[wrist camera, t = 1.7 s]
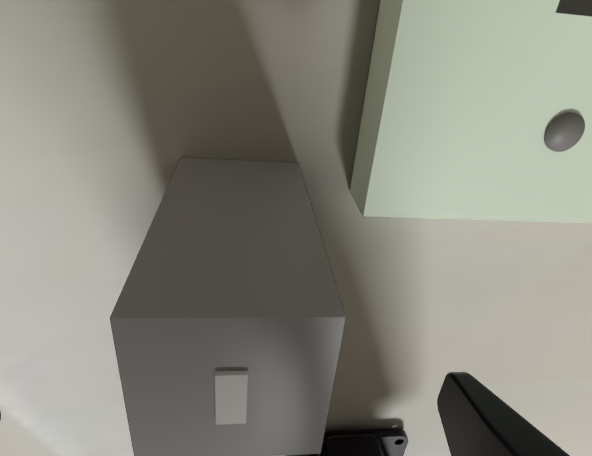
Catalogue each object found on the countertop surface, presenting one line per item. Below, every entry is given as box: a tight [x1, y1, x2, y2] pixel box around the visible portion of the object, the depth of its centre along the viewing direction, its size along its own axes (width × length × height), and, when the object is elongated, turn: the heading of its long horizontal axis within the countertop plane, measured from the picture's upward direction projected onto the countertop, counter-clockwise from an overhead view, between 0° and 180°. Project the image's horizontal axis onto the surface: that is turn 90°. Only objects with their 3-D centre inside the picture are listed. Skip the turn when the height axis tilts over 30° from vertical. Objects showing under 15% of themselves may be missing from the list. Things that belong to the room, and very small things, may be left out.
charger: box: [110, 157, 346, 456], centre depth 11 cm, size 4×4×8 cm
